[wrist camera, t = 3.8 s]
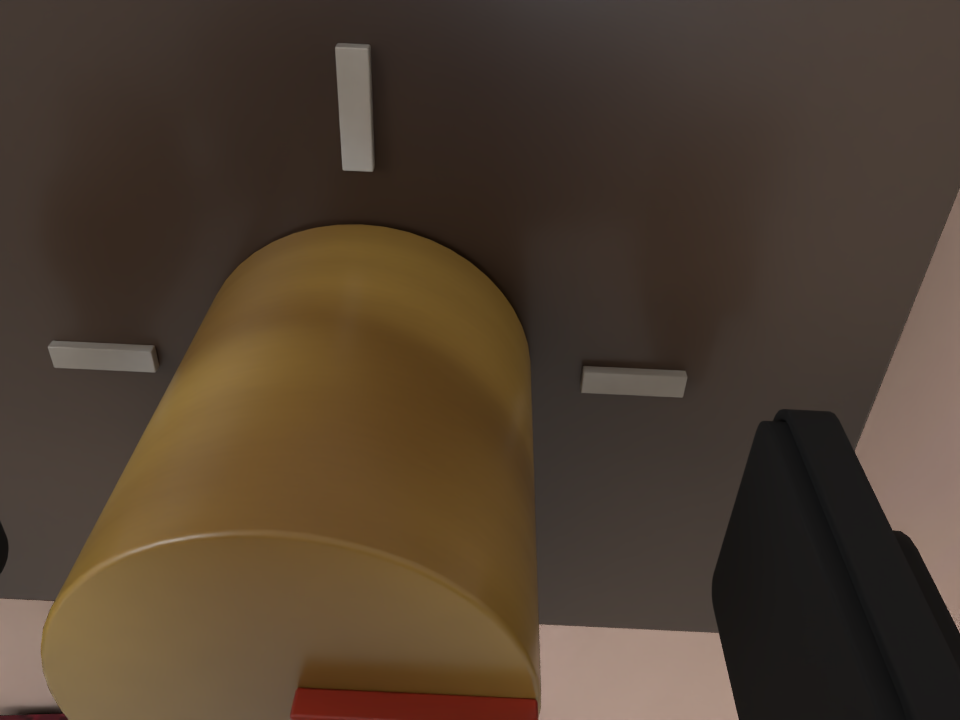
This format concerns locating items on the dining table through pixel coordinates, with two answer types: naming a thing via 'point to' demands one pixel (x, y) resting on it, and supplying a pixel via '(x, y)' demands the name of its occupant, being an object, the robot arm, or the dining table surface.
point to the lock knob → (321, 505)
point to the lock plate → (482, 232)
